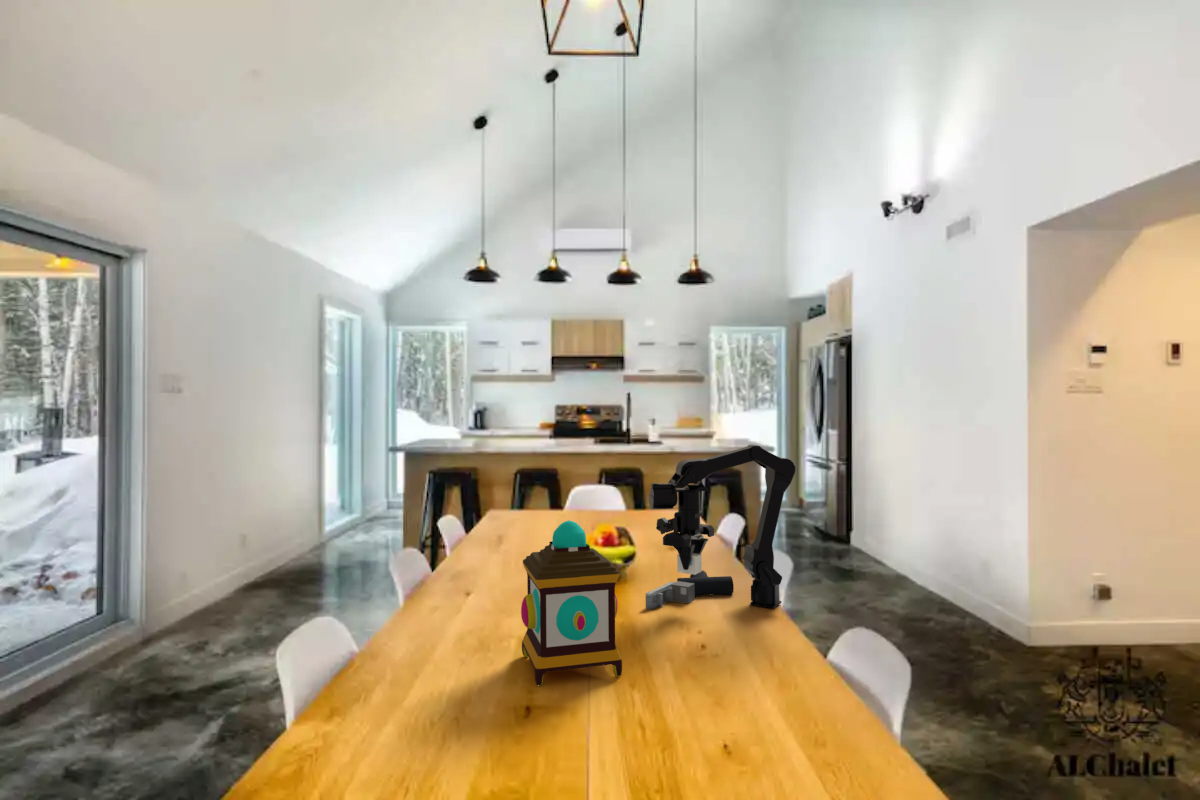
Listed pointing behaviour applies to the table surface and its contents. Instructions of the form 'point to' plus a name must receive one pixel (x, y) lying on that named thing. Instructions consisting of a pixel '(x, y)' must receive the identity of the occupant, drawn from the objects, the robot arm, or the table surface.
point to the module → (691, 565)
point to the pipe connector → (710, 584)
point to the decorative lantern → (569, 606)
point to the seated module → (684, 592)
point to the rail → (660, 596)
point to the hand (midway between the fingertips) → (689, 567)
